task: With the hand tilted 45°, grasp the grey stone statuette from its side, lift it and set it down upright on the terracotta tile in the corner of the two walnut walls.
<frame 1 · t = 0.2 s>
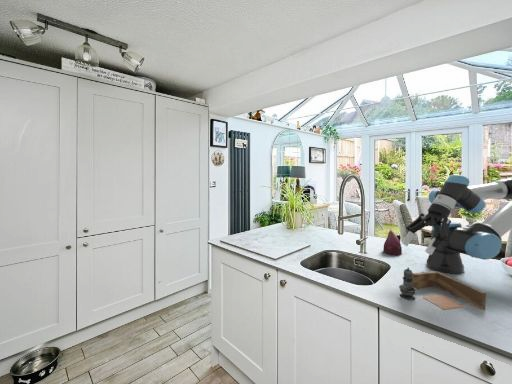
hand: (415, 248, 107), 16 cm above the worktop, tool tilted 35°, fingers open, 13 cm apart
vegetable: (392, 253, 150), on the worktop
grey stone statuette: (407, 297, 98), on the worktop
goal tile: (443, 301, 94), on the worktop
wooden corner wall: (436, 284, 108), on the worktop
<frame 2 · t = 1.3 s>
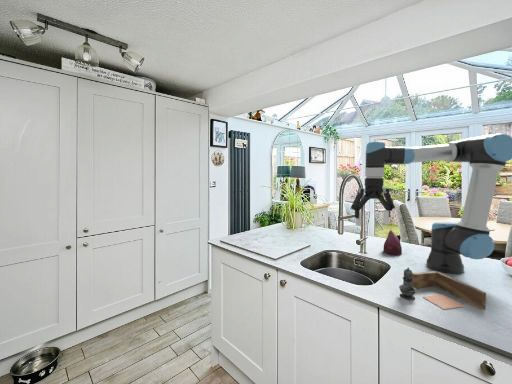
hand: (372, 225, 112), 25 cm above the worktop, tool pointing down, fingers open, 13 cm apart
nothing on the worktop moved.
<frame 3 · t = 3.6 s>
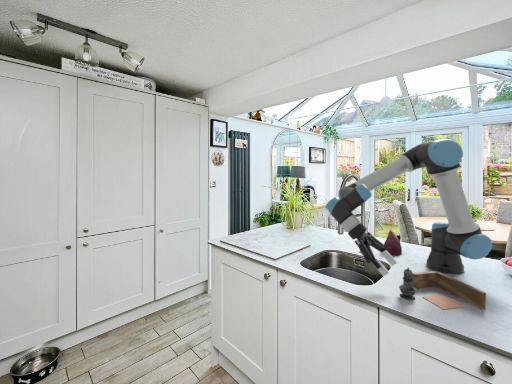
hand: (390, 269, 101), 10 cm above the worktop, tool tilted 45°, fingers open, 13 cm apart
nothing on the worktop moved.
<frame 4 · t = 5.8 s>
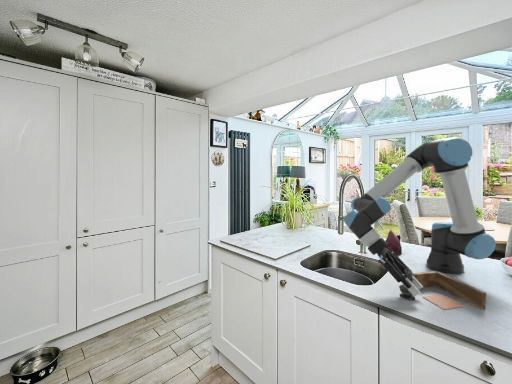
hand: (418, 291, 96), 3 cm above the worktop, tool tilted 45°, fingers closed on grey stone statuette, 5 cm apart
grey stone statuette: (407, 297, 98), on the worktop, touching gripper
everything else where it was.
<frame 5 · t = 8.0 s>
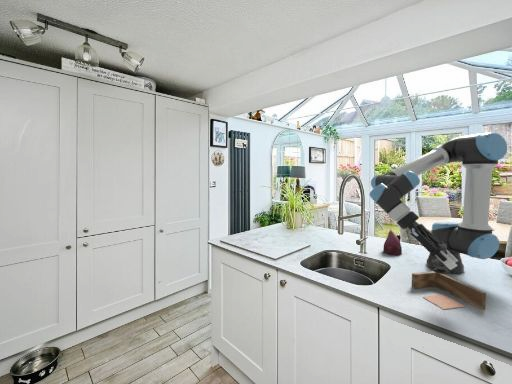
hand: (454, 265, 91), 15 cm above the worktop, tool tilted 45°, fingers closed on grey stone statuette, 5 cm apart
grey stone statuette: (441, 272, 93), point 11 cm above the worktop, touching gripper
everything else where it was.
when the fingers open (5 cm above the worktop, at t = 10.4 s): grey stone statuette stays where it is, resting on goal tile.
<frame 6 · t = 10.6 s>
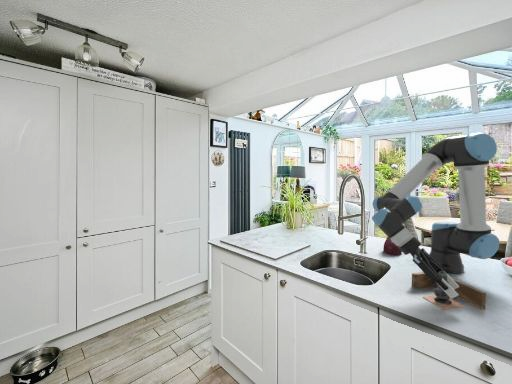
hand: (455, 292, 91), 5 cm above the worktop, tool tilted 45°, fingers open, 7 cm apart
grey stone statuette: (442, 301, 94), resting on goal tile
everything else where it was.
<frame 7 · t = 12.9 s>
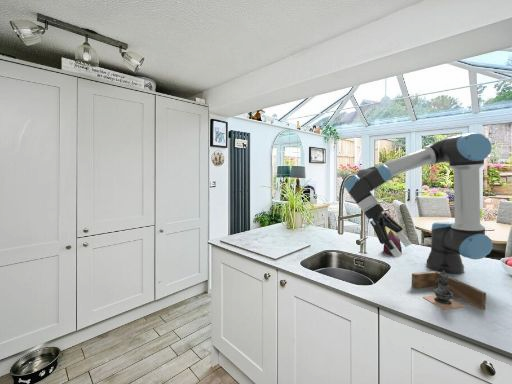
hand: (403, 250, 103), 17 cm above the worktop, tool tilted 40°, fingers open, 13 cm apart
nothing on the worktop moved.
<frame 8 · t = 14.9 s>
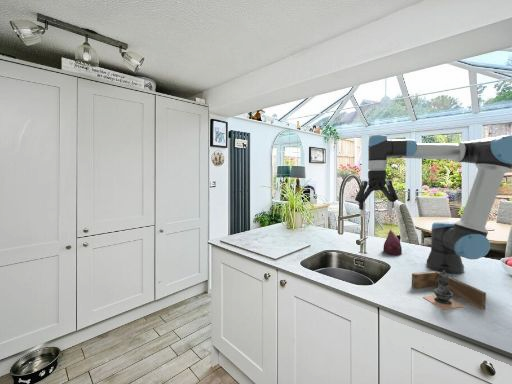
hand: (376, 216, 116), 29 cm above the worktop, tool pointing down, fingers open, 13 cm apart
nothing on the worktop moved.
at the end: grey stone statuette 0.1 cm from the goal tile (horizontally); grey stone statuette tilted 0°; grey stone statuette resting on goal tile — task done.
